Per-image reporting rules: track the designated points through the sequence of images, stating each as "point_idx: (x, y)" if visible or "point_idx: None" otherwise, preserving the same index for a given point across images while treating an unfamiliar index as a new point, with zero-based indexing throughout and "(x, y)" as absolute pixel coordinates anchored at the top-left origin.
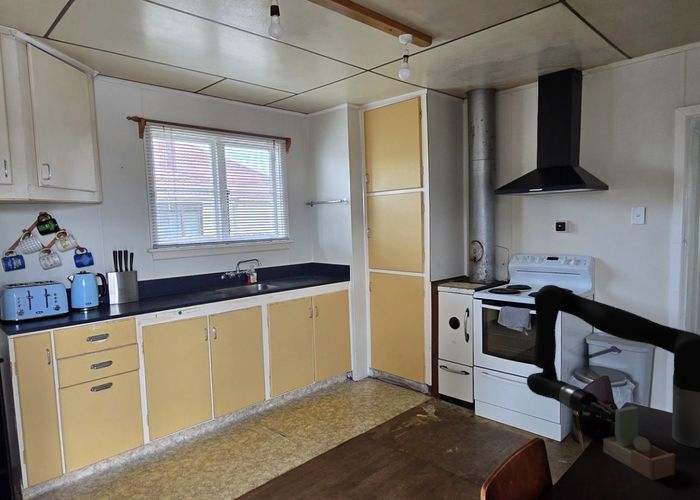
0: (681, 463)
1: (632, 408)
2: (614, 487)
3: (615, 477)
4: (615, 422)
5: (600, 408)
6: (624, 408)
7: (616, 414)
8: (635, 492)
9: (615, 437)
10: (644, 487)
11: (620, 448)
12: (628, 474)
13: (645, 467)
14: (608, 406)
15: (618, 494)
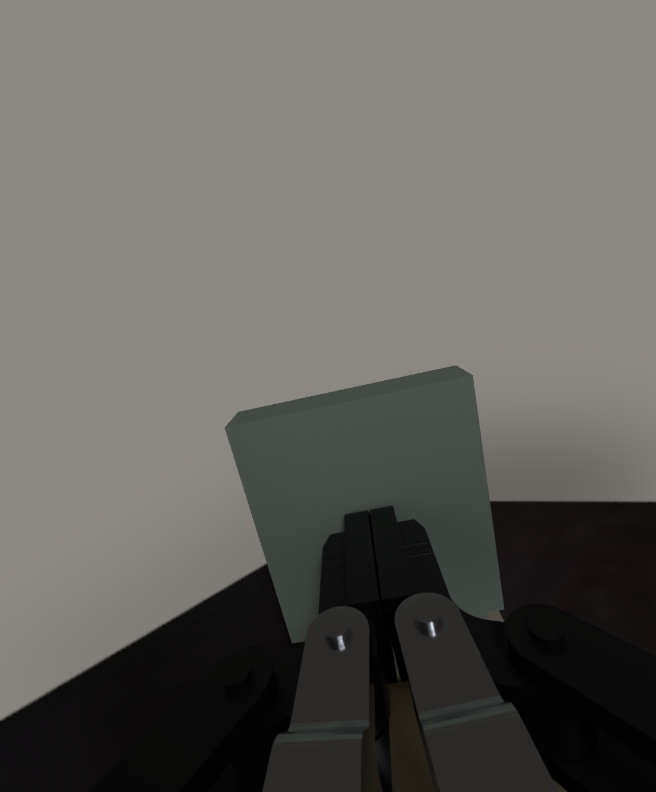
0: (212, 627)
1: (295, 402)
2: (644, 528)
3: (613, 577)
4: (488, 498)
5: (537, 769)
6: (364, 393)
7: (473, 417)
8: (560, 507)
9: (432, 789)
10: (506, 524)
11: (500, 617)
12: (527, 589)
13: None
14: (286, 771)
15: (638, 501)
